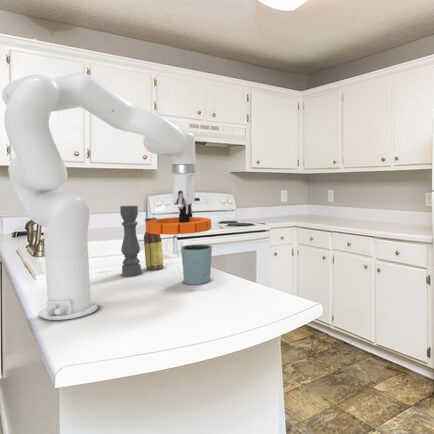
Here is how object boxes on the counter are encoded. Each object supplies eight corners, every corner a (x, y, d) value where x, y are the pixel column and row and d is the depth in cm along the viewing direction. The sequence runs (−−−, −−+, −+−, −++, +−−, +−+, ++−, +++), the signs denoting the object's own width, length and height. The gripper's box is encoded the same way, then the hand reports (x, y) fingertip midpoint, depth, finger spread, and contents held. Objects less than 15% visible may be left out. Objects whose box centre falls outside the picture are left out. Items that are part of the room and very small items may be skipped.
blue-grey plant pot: (198, 276, 146) (197, 243, 145) (219, 280, 141) (218, 246, 140) (175, 282, 137) (174, 247, 136) (196, 286, 132) (195, 250, 131)
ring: (203, 234, 120) (202, 224, 119) (136, 234, 118) (136, 224, 118) (215, 225, 139) (215, 216, 138) (158, 226, 137) (158, 217, 137)
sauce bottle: (165, 266, 160) (164, 216, 158) (159, 270, 154) (157, 218, 152) (149, 266, 161) (147, 216, 158) (142, 270, 154) (139, 218, 152)
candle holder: (133, 277, 144) (130, 206, 142) (118, 276, 146) (115, 206, 143) (144, 273, 150) (142, 205, 148) (129, 272, 152) (127, 205, 149)
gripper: (179, 170, 142) (181, 222, 144) (164, 170, 126) (167, 229, 128) (201, 170, 143) (203, 222, 145) (189, 170, 126) (191, 228, 129)
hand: (186, 224), depth 136 cm, fingers closed on ring, 3 cm apart
